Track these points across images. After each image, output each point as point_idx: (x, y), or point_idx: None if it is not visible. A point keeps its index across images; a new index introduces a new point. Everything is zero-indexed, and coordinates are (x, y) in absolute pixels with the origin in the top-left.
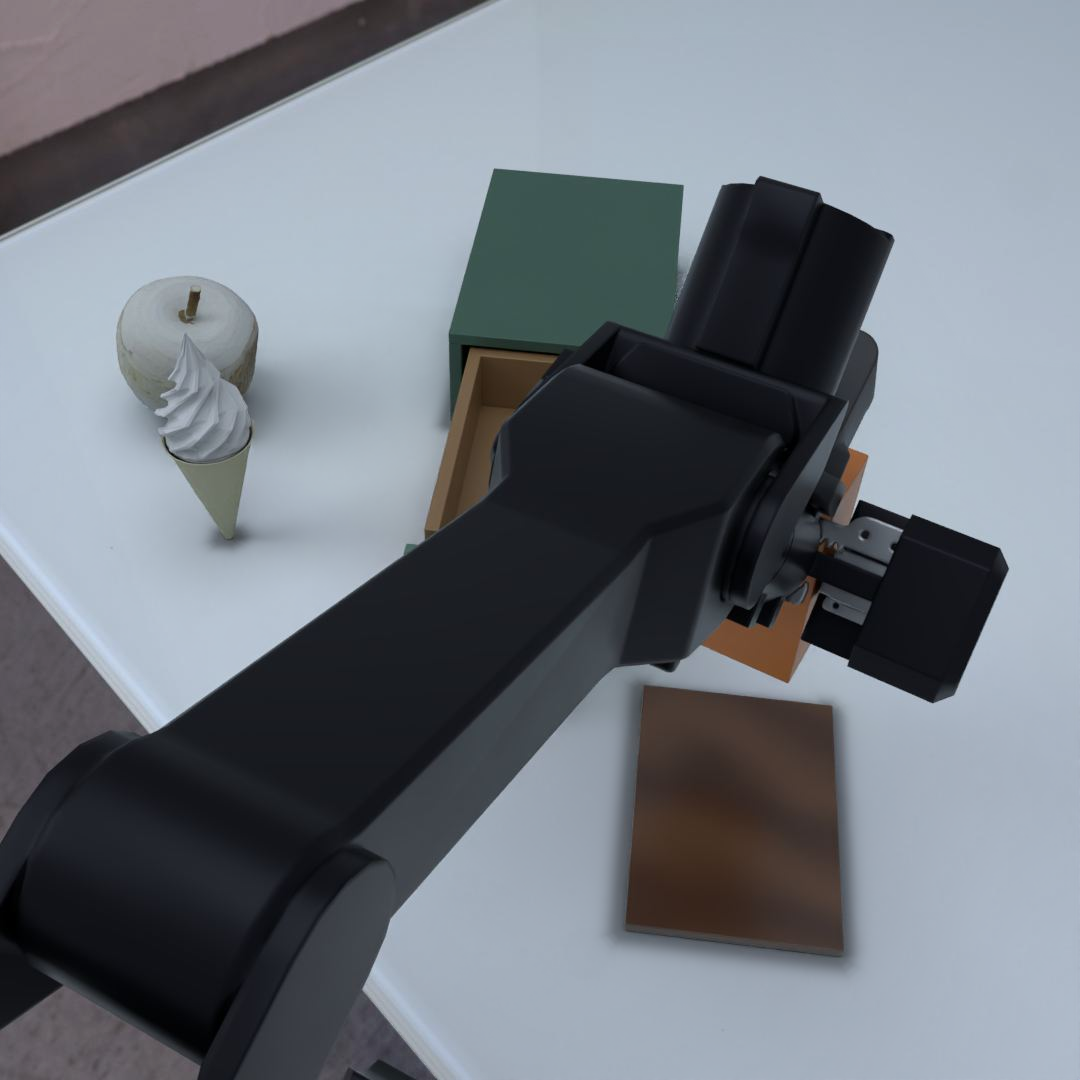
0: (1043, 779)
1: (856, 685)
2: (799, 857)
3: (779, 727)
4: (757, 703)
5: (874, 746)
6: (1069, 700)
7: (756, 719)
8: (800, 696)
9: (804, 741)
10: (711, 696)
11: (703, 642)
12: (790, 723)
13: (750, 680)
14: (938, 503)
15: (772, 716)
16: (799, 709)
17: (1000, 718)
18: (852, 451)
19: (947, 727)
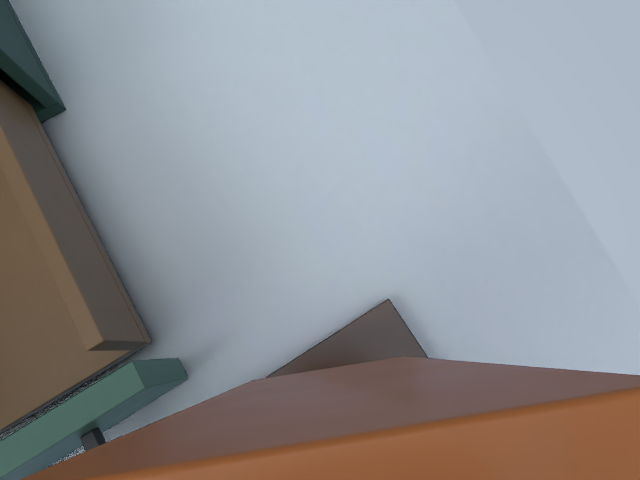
0: (572, 239)
1: (388, 254)
2: None
3: (364, 358)
4: (330, 345)
5: (440, 307)
6: (541, 147)
7: (340, 365)
8: (354, 301)
9: (392, 356)
10: (288, 370)
11: None
12: (369, 346)
13: (305, 316)
14: (331, 18)
15: (351, 350)
16: (366, 324)
17: (508, 203)
18: (618, 424)
19: (478, 243)
